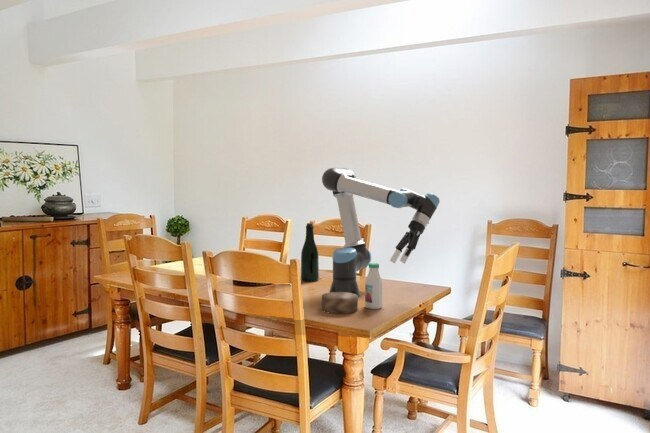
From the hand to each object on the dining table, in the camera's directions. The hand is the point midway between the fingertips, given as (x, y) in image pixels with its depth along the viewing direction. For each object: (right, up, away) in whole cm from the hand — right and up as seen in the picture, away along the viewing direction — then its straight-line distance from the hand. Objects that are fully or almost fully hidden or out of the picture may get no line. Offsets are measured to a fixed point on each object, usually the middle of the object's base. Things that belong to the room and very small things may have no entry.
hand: (396, 262), depth 232 cm
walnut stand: (-27, -20, -10) cm, 35 cm away
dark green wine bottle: (-42, -16, +55) cm, 71 cm away
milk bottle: (-12, -20, -6) cm, 24 cm away
